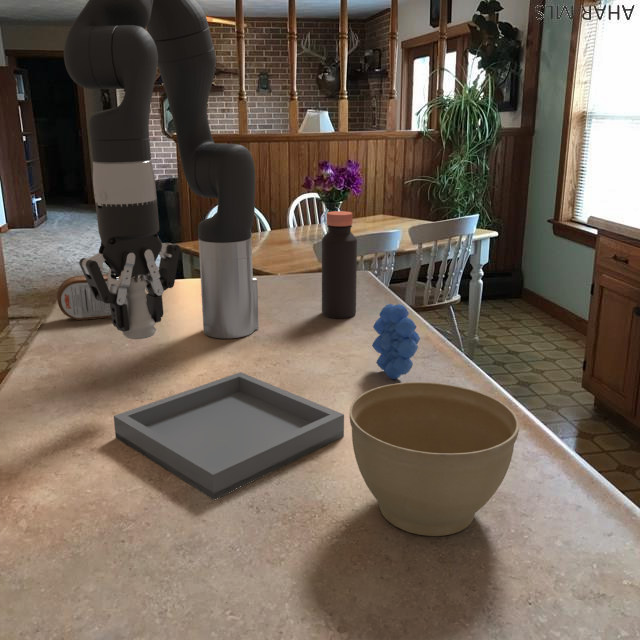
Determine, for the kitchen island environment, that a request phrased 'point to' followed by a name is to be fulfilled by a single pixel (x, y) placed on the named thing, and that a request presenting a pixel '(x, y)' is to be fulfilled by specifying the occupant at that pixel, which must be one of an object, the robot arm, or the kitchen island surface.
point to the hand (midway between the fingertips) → (138, 325)
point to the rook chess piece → (138, 310)
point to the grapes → (395, 340)
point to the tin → (82, 300)
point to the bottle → (339, 266)
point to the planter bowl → (431, 452)
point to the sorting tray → (228, 432)
